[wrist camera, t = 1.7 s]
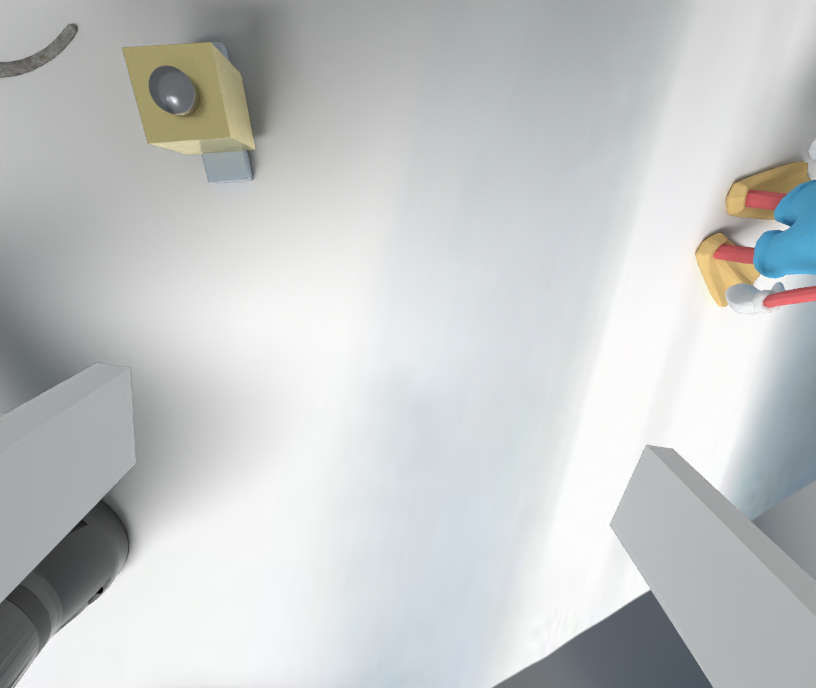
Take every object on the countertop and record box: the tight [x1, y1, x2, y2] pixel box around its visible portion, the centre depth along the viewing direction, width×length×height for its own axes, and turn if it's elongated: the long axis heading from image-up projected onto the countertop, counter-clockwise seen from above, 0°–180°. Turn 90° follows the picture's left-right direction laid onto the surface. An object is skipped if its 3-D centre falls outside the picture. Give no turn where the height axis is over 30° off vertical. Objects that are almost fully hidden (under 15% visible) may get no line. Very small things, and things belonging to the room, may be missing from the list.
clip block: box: [122, 42, 256, 155], centre depth 27 cm, size 5×5×7 cm
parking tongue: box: [202, 42, 253, 183], centre depth 31 cm, size 3×9×2 cm, turn 5°
